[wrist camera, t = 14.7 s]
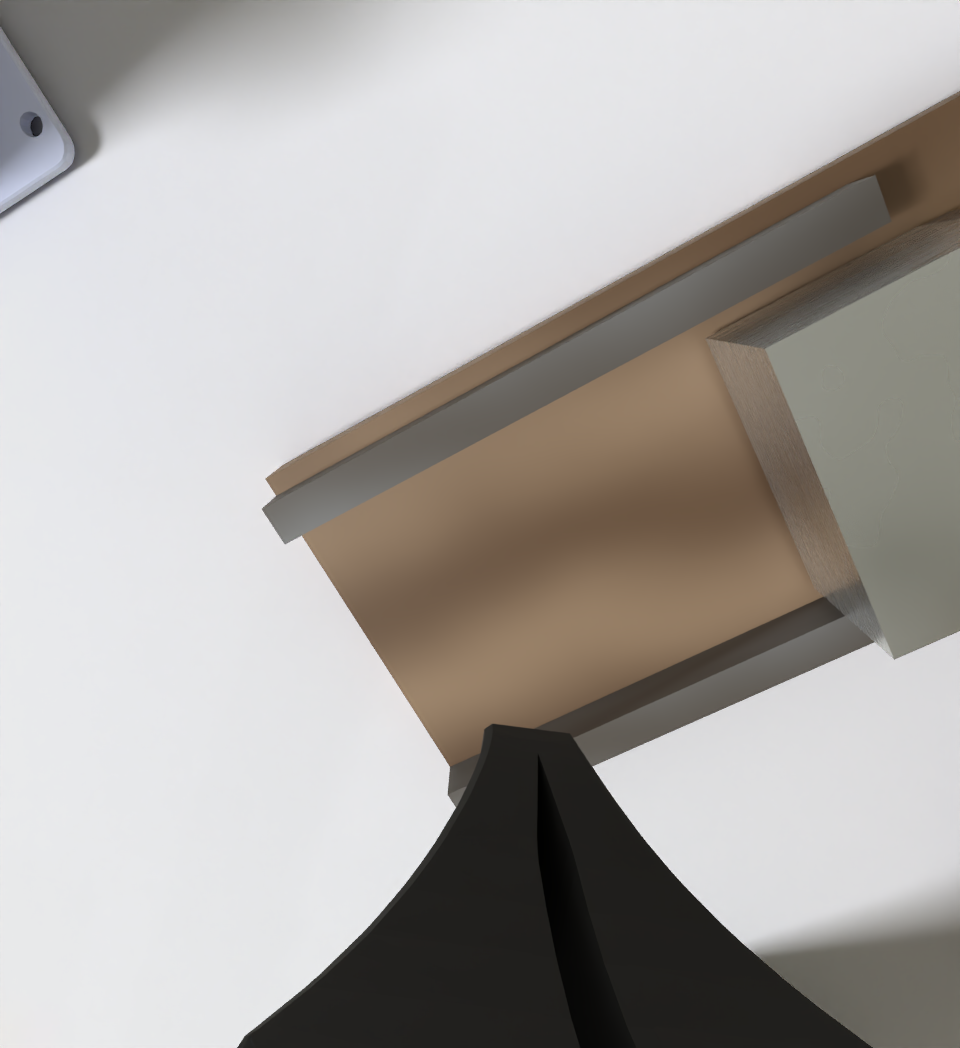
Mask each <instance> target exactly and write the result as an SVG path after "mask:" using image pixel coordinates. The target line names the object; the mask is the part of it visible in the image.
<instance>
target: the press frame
mask: <svg viewBox="0 0 960 1048" xmlns="http://www.w3.org/2000/svg"><path fill="white" fill-rule="evenodd" d="M958 209H960V91H959V92H957V93H956V94H954V95H952V96H950V97H948V98H947V99H945V100H943V101H941V102H939V103H937V104H936V105H934V106H932V107H930V108H928V109H927V110H925V111H923V112H921V113H919V114H918V115H916V116H914V117H912V118H910V119H909V120H907V121H905V122H903V123H901V124H900V125H898V126H896V127H894V128H892V129H890V130H889V131H887V132H885V133H883V134H881V135H880V136H878V137H876V138H874V139H872V140H871V141H869V142H867V143H865V144H863V145H862V146H860V147H858V148H856V149H854V150H852V151H851V152H849V153H847V154H845V155H843V156H842V157H840V158H838V159H836V160H834V161H833V162H831V163H829V164H827V165H825V166H824V167H822V168H820V169H818V170H816V171H814V172H813V173H811V174H809V175H807V176H805V177H804V178H802V179H800V180H798V181H796V182H795V183H793V184H791V185H789V186H787V187H786V188H784V189H782V190H780V191H778V192H776V193H775V194H773V195H771V196H769V197H767V198H766V199H764V200H762V201H760V202H758V203H757V204H755V205H753V206H751V207H749V208H748V209H746V210H744V211H742V212H740V213H738V214H737V215H735V216H733V217H731V218H729V219H728V220H726V221H724V222H722V223H720V224H719V225H717V226H715V227H713V228H711V229H710V230H708V231H706V232H704V233H702V234H700V235H699V236H697V237H695V238H693V239H691V240H690V241H688V242H686V243H684V244H682V245H681V246H679V247H677V248H675V249H673V250H672V251H670V252H668V253H666V254H664V255H662V256H661V257H659V258H657V259H655V260H653V261H652V262H650V263H648V264H646V265H644V266H643V267H641V268H639V269H637V270H635V271H634V272H632V273H630V274H628V275H626V276H624V277H623V278H621V279H619V280H617V281H615V282H614V283H612V284H610V285H608V286H606V287H605V288H603V289H601V290H599V291H597V292H596V293H594V294H592V295H590V296H588V297H586V298H585V299H583V300H581V301H579V302H577V303H576V304H574V305H572V306H570V307H568V308H567V309H565V310H563V311H561V312H559V313H558V314H556V315H554V316H552V317H550V318H548V319H547V320H545V321H543V322H541V323H539V324H538V325H536V326H534V327H532V328H530V329H529V330H527V331H525V332H523V333H521V334H520V335H518V336H516V337H514V338H512V339H510V340H509V341H507V342H505V343H503V344H501V345H500V346H498V347H496V348H494V349H492V350H491V351H489V352H487V353H485V354H483V355H482V356H480V357H478V358H476V359H474V360H472V361H471V362H469V363H467V364H465V365H463V366H462V367H460V368H458V369H456V370H454V371H453V372H451V373H449V374H447V375H445V376H444V377H442V378H440V379H438V380H436V381H434V382H433V383H431V384H429V385H427V386H425V387H424V388H422V389H420V390H418V391H416V392H415V393H413V394H411V395H409V396H407V397H406V398H404V399H402V400H400V401H398V402H396V403H395V404H393V405H391V406H389V407H387V408H386V409H384V410H382V411H380V412H378V413H377V414H375V415H373V416H371V417H369V418H368V419H366V420H364V421H362V422H360V423H358V424H357V425H355V426H353V427H351V428H349V429H348V430H346V431H344V432H342V433H340V434H339V435H337V436H335V437H333V438H331V439H330V440H328V441H326V442H324V443H322V444H320V445H319V446H317V447H315V448H313V449H311V450H310V451H308V452H306V453H304V454H302V455H301V456H299V457H297V458H295V459H293V460H292V461H290V462H288V463H286V464H284V465H282V466H281V467H280V468H279V469H277V470H276V471H275V472H273V473H272V474H271V475H270V476H268V477H267V478H266V480H267V482H268V484H269V485H270V487H271V488H272V490H273V491H274V493H275V494H276V497H275V498H273V499H272V500H271V501H270V502H269V503H268V504H267V505H266V506H265V507H263V508H262V510H263V512H264V513H265V515H266V516H267V518H268V519H269V521H270V522H271V524H272V525H273V527H274V528H275V530H276V532H277V533H278V535H279V536H280V538H281V539H282V541H283V542H284V544H287V543H288V542H290V541H292V540H294V539H296V538H298V537H300V536H302V537H303V538H304V540H305V541H306V543H307V544H308V546H309V547H310V549H311V551H312V552H313V554H314V555H315V557H316V558H317V560H318V561H319V563H320V565H321V566H322V568H323V569H324V571H325V572H326V574H327V576H328V577H329V579H330V580H331V582H332V583H333V585H334V586H335V588H336V590H337V591H338V593H339V594H340V596H341V597H342V599H343V600H344V602H345V604H346V605H347V607H348V608H349V610H350V611H351V613H352V614H353V616H354V618H355V619H356V621H357V622H358V624H359V625H360V627H361V629H362V630H363V632H364V633H365V635H366V636H367V638H368V639H369V641H370V643H371V644H372V646H373V647H374V649H375V650H376V652H377V653H378V655H379V657H380V658H381V660H382V661H383V663H384V664H385V666H386V667H387V669H388V671H389V672H390V674H391V675H392V677H393V678H394V680H395V682H396V683H397V685H398V686H399V688H400V689H401V691H402V692H403V694H404V696H405V697H406V699H407V700H408V702H409V703H410V705H411V706H412V708H413V710H414V711H415V713H416V714H417V716H418V717H419V719H420V720H421V722H422V724H423V725H424V727H425V728H426V730H427V731H428V733H429V735H430V736H431V738H432V739H433V741H434V742H435V744H436V745H437V747H438V749H439V750H440V752H441V753H442V755H443V756H444V758H445V759H446V761H447V763H448V764H449V766H450V775H449V786H448V796H449V797H450V799H451V800H452V802H453V803H454V805H455V807H457V805H458V803H459V802H460V800H461V798H462V795H463V793H464V791H465V789H466V787H467V785H468V783H469V781H470V779H471V777H472V775H473V772H474V770H475V767H476V764H477V762H478V759H479V756H480V753H481V747H482V740H483V734H484V729H485V728H487V727H488V726H490V725H491V724H500V725H508V726H516V727H523V728H531V729H539V730H547V731H555V732H563V733H570V734H571V736H572V737H573V738H574V740H575V741H576V743H577V744H578V746H579V747H580V749H581V750H582V752H583V753H584V755H585V757H586V758H587V760H588V761H589V763H590V764H591V766H594V765H597V764H599V763H601V762H603V761H606V760H608V759H610V758H612V757H615V756H617V755H619V754H622V753H624V752H626V751H628V750H631V749H633V748H635V747H637V746H640V745H642V744H644V743H646V742H649V741H651V740H653V739H656V738H658V737H660V736H662V735H665V734H667V733H669V732H671V731H674V730H676V729H678V728H681V727H683V726H685V725H687V724H690V723H692V722H694V721H696V720H699V719H701V718H703V717H705V716H708V715H710V714H712V713H715V712H717V711H719V710H721V709H724V708H726V707H728V706H730V705H733V704H735V703H737V702H740V701H742V700H744V699H746V698H749V697H751V696H753V695H755V694H758V693H760V692H762V691H765V690H767V689H769V688H771V687H774V686H776V685H778V684H780V683H783V682H785V681H787V680H789V679H792V678H794V677H796V676H799V675H801V674H803V673H805V672H808V671H810V670H812V669H814V668H817V667H819V666H821V665H824V664H826V663H828V662H830V661H833V660H835V659H837V658H839V657H842V656H844V655H846V654H848V653H851V652H853V651H855V650H858V649H860V648H862V647H864V646H867V645H869V644H871V643H873V642H874V641H873V640H872V639H871V638H870V637H868V636H867V635H866V634H865V633H864V632H863V631H862V630H861V629H860V628H858V627H857V626H856V625H855V624H854V623H853V622H852V621H851V620H849V619H848V618H847V617H846V616H845V615H844V614H843V613H842V612H840V611H839V610H838V609H837V608H836V607H835V606H834V605H833V604H832V603H830V602H829V601H828V600H827V599H826V598H825V597H824V596H823V595H821V594H820V593H819V592H818V591H817V590H816V589H815V588H814V586H813V584H812V581H811V579H810V577H809V574H808V572H807V570H806V568H805V565H804V563H803V561H802V558H801V556H800V554H799V552H798V549H797V547H796V545H795V542H794V540H793V538H792V536H791V533H790V531H789V529H788V526H787V524H786V522H785V520H784V517H783V515H782V513H781V510H780V508H779V506H778V504H777V501H776V499H775V497H774V494H773V492H772V490H771V488H770V485H769V483H768V481H767V478H766V476H765V474H764V471H763V469H762V467H761V465H760V462H759V460H758V458H757V455H756V453H755V451H754V449H753V446H752V444H751V442H750V439H749V437H748V435H747V433H746V430H745V428H744V426H743V423H742V421H741V419H740V417H739V414H738V412H737V410H736V407H735V405H734V403H733V401H732V398H731V396H730V394H729V391H728V389H727V387H726V385H725V382H724V380H723V378H722V375H721V373H720V371H719V369H718V366H717V364H716V362H715V359H714V357H713V355H712V353H711V350H710V348H709V346H708V343H707V341H706V339H705V338H707V337H709V336H711V335H712V334H714V333H716V332H718V331H720V330H722V329H724V328H726V327H728V326H730V325H731V324H733V323H735V322H737V321H739V320H741V319H743V318H745V317H747V316H748V315H750V314H752V313H754V312H756V311H758V310H760V309H762V308H764V307H766V306H767V305H769V304H771V303H773V302H775V301H777V300H779V299H781V298H783V297H784V296H786V295H788V294H790V293H792V292H794V291H796V290H798V289H800V288H801V287H803V286H805V285H807V284H809V283H811V282H813V281H815V280H817V279H819V278H820V277H822V276H824V275H826V274H828V273H830V272H832V271H834V270H836V269H837V268H839V267H841V266H843V265H845V264H847V263H849V262H851V261H853V260H855V259H856V258H858V257H860V256H862V255H864V254H866V253H868V252H870V251H872V250H873V249H875V248H877V247H879V246H881V245H883V244H885V243H887V242H889V241H890V240H892V239H894V238H896V237H898V236H900V235H902V234H904V233H906V232H908V231H909V230H911V229H913V228H915V227H917V226H922V225H924V224H926V223H928V222H930V221H932V220H934V219H936V218H938V217H939V216H941V215H943V214H945V213H947V212H949V211H953V210H958Z"/></svg>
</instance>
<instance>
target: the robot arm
mask: <svg viewBox="0 0 960 1048" xmlns="http://www.w3.org/2000/svg"><path fill="white" fill-rule="evenodd" d="M36 116H39V117H40V118H41V121H42V123H43V129H42V132H41V134H40V135H39V136H36V137H35V136H34V135H33V134H32V131H31V129H30V125H31V121H32V120H33V118H34V117H36ZM74 156H75V150H74V144H73V142H72V140H71V137H70V136H69V134H68V133H67V131H66V129H65V128H64V126H63V125H62V123H61V122H60V120H59V118H58V117H57V115H56V114H55V112H54V111H53V109H52V107H51V106H50V104H49V103H48V101H47V99H46V98H45V96H44V95H43V93H42V92H41V90H40V88H39V87H38V85H37V84H36V82H35V81H34V79H33V77H32V76H31V74H30V73H29V71H28V69H27V68H26V66H25V65H24V63H23V62H22V60H21V58H20V57H19V55H18V54H17V52H16V50H15V49H14V47H13V46H12V44H11V43H10V41H9V39H8V38H7V36H6V35H5V33H4V32H3V30H2V28H1V27H0V213H2V212H3V211H5V210H6V209H8V208H9V207H11V206H12V205H14V204H15V203H17V202H18V201H20V200H21V199H23V198H24V197H26V196H27V195H29V194H30V193H32V192H33V191H35V190H36V189H38V188H39V187H41V186H42V185H44V184H45V183H47V182H48V181H50V180H51V179H53V178H54V177H56V176H57V175H59V174H60V173H62V172H63V171H65V170H66V169H67V168H68V167H69V166H70V165H71V164H72V163H73V159H74ZM237 1048H873V1047H871V1046H870V1045H868V1044H867V1043H866V1042H864V1041H863V1040H862V1039H860V1038H859V1037H858V1036H856V1035H855V1034H853V1033H852V1032H851V1031H849V1030H848V1029H847V1028H845V1027H844V1026H843V1025H841V1024H840V1023H839V1022H837V1021H836V1020H835V1019H833V1018H832V1017H831V1016H829V1015H828V1014H827V1013H825V1012H824V1011H823V1010H821V1009H820V1008H819V1007H817V1006H816V1005H815V1004H814V1003H812V1002H811V1001H810V1000H809V999H807V998H806V997H805V996H804V995H802V994H801V993H800V992H799V991H797V990H796V989H795V988H794V987H792V986H791V985H790V984H789V983H787V982H786V981H785V980H784V979H783V978H782V977H780V976H779V975H778V974H777V973H776V972H775V971H773V970H772V969H771V968H770V967H769V966H768V965H767V964H765V963H764V962H763V961H762V960H761V959H760V958H759V957H757V956H756V955H755V954H754V953H753V952H752V951H750V950H749V949H748V948H747V947H746V946H745V945H744V944H742V943H741V942H740V941H739V940H738V939H737V938H736V937H735V936H734V935H733V934H732V933H731V932H730V931H728V930H727V929H726V928H725V927H724V926H723V925H722V924H721V923H720V922H719V921H718V920H717V919H716V918H715V917H714V916H713V915H712V914H711V913H710V912H709V911H708V910H707V909H706V908H705V907H704V906H703V905H702V904H701V903H700V902H699V901H698V900H697V899H696V898H695V897H694V896H693V895H692V894H691V893H690V892H689V891H688V889H687V888H686V887H685V886H684V885H683V884H682V883H681V882H680V881H679V880H678V879H677V878H676V876H675V875H674V874H673V873H672V872H671V871H670V870H669V869H668V867H667V866H666V865H665V864H664V863H663V861H662V860H661V859H660V858H659V857H658V855H657V854H656V853H655V852H654V851H653V850H652V848H651V847H650V846H649V845H648V844H647V842H646V841H645V840H644V839H643V837H642V836H641V835H640V833H639V832H638V831H637V830H636V828H635V827H634V825H633V824H632V823H631V821H630V820H629V819H628V817H627V816H626V815H625V813H624V812H623V811H622V809H621V808H620V807H619V805H618V804H617V802H616V801H615V800H614V798H613V797H612V795H611V794H610V792H609V791H608V790H607V788H606V787H605V785H604V784H603V782H602V781H601V779H600V778H599V776H598V775H597V773H596V772H595V770H594V769H593V767H592V766H591V764H590V763H589V761H588V760H587V758H586V757H585V755H584V753H583V752H582V750H581V749H580V747H579V746H578V744H577V743H576V741H575V740H574V738H573V737H572V736H571V734H570V733H563V732H555V731H547V730H539V729H531V728H523V727H516V726H508V725H500V724H491V725H490V726H488V727H487V728H485V729H484V734H483V740H482V747H481V753H480V756H479V759H478V762H477V764H476V767H475V770H474V772H473V775H472V777H471V779H470V781H469V783H468V785H467V787H466V789H465V791H464V793H463V795H462V798H461V800H460V802H459V803H458V805H457V807H456V809H455V811H454V812H453V814H452V816H451V817H450V819H449V821H448V822H447V824H446V826H445V827H444V829H443V831H442V832H441V834H440V836H439V837H438V839H437V841H436V842H435V844H434V845H433V847H432V848H431V850H430V851H429V853H428V854H427V855H426V857H425V858H424V860H423V861H422V862H421V864H420V865H419V867H418V868H417V869H416V871H415V872H414V873H413V875H412V876H411V877H410V879H409V880H408V881H407V882H406V884H405V885H404V886H403V888H402V889H401V890H400V891H399V892H398V893H397V895H396V896H395V897H394V898H393V899H392V901H391V902H390V903H389V904H388V905H387V907H386V908H385V909H384V910H383V911H382V912H381V914H380V915H379V916H378V917H377V918H376V919H375V920H374V921H373V922H372V924H371V925H370V926H369V927H368V928H367V929H366V930H365V931H364V932H363V933H362V934H361V935H360V936H359V937H358V938H357V939H356V940H355V941H354V942H353V943H352V944H351V945H350V946H349V947H348V948H347V949H346V950H345V951H344V952H343V953H342V954H341V955H340V956H339V957H337V958H336V959H335V960H334V961H333V962H332V963H331V964H330V965H329V966H328V967H327V968H326V969H325V970H324V971H323V972H322V973H321V974H320V975H319V976H318V977H317V978H315V979H314V980H313V981H312V982H311V983H310V984H309V985H308V986H306V987H305V988H304V989H303V990H302V991H300V992H299V993H298V994H297V995H295V996H294V997H293V998H292V999H290V1000H289V1001H288V1002H287V1003H285V1004H284V1005H283V1006H282V1007H281V1008H279V1009H278V1010H277V1011H276V1012H274V1013H273V1014H272V1015H271V1016H269V1017H268V1018H267V1019H266V1020H264V1021H263V1022H262V1023H261V1024H260V1025H258V1026H257V1027H256V1028H255V1029H253V1030H252V1031H251V1032H249V1033H248V1034H247V1035H246V1036H245V1037H244V1038H243V1040H242V1041H241V1043H240V1044H239V1046H238V1047H237Z"/></svg>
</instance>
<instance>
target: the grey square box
mask: <svg viewBox="0 0 960 1048" xmlns="http://www.w3.org/2000/svg"><path fill="white" fill-rule="evenodd" d="M705 339H706V341H707V343H708V346H709V348H710V350H711V353H712V355H713V357H714V359H715V362H716V364H717V366H718V369H719V371H720V373H721V375H722V378H723V380H724V382H725V385H726V387H727V389H728V391H729V394H730V396H731V398H732V401H733V403H734V405H735V407H736V410H737V412H738V414H739V417H740V419H741V421H742V423H743V426H744V428H745V430H746V433H747V435H748V437H749V439H750V442H751V444H752V446H753V449H754V451H755V453H756V455H757V458H758V460H759V462H760V465H761V467H762V469H763V471H764V474H765V476H766V478H767V481H768V483H769V485H770V488H771V490H772V492H773V494H774V497H775V499H776V501H777V504H778V506H779V508H780V510H781V513H782V515H783V517H784V520H785V522H786V524H787V526H788V529H789V531H790V533H791V536H792V538H793V540H794V542H795V545H796V547H797V549H798V552H799V554H800V556H801V558H802V561H803V563H804V565H805V568H806V570H807V572H808V574H809V577H810V579H811V581H812V584H813V586H814V588H815V589H816V590H817V591H818V592H819V593H820V594H821V595H823V596H824V597H825V598H826V599H827V600H828V601H829V602H830V603H832V604H833V605H834V606H835V607H836V608H837V609H838V610H839V611H840V612H842V613H843V614H844V615H845V616H846V617H847V618H848V619H849V620H851V621H852V622H853V623H854V624H855V625H856V626H857V627H858V628H860V629H861V630H862V631H863V632H864V633H865V634H866V635H867V636H868V637H870V638H871V639H872V640H873V641H874V642H875V643H876V644H877V645H879V646H880V647H881V648H882V649H883V650H884V651H885V652H886V653H888V654H889V655H890V656H891V657H892V658H893V659H896V658H899V657H901V656H903V655H906V654H908V653H910V652H913V651H915V650H917V649H919V648H922V647H924V646H926V645H929V644H931V643H933V642H936V641H938V640H940V639H942V638H945V637H947V636H949V635H952V634H954V633H956V632H959V631H960V209H958V210H953V211H949V212H947V213H945V214H943V215H941V216H939V217H938V218H936V219H934V220H932V221H930V222H928V223H926V224H924V225H922V226H917V227H915V228H913V229H911V230H909V231H908V232H906V233H904V234H902V235H900V236H898V237H896V238H894V239H892V240H890V241H889V242H887V243H885V244H883V245H881V246H879V247H877V248H875V249H873V250H872V251H870V252H868V253H866V254H864V255H862V256H860V257H858V258H856V259H855V260H853V261H851V262H849V263H847V264H845V265H843V266H841V267H839V268H837V269H836V270H834V271H832V272H830V273H828V274H826V275H824V276H822V277H820V278H819V279H817V280H815V281H813V282H811V283H809V284H807V285H805V286H803V287H801V288H800V289H798V290H796V291H794V292H792V293H790V294H788V295H786V296H784V297H783V298H781V299H779V300H777V301H775V302H773V303H771V304H769V305H767V306H766V307H764V308H762V309H760V310H758V311H756V312H754V313H752V314H750V315H748V316H747V317H745V318H743V319H741V320H739V321H737V322H735V323H733V324H731V325H730V326H728V327H726V328H724V329H722V330H720V331H718V332H716V333H714V334H712V335H711V336H709V337H707V338H705Z"/></svg>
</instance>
